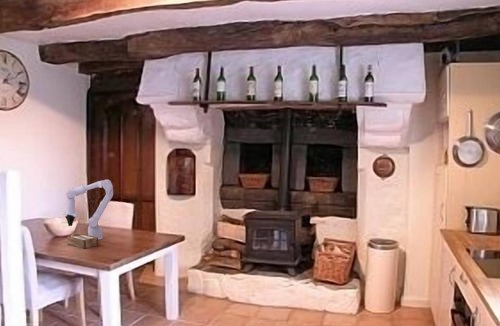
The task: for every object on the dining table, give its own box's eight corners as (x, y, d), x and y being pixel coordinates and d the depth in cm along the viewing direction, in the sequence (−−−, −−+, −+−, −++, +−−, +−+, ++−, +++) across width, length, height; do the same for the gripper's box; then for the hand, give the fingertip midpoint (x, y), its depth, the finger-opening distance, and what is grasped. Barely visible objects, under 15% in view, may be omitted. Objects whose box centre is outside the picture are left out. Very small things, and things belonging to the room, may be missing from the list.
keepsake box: (81, 241, 330) (81, 233, 330) (98, 245, 320) (97, 237, 319) (67, 244, 321) (67, 236, 321) (83, 248, 311) (83, 240, 310)
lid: (81, 235, 329) (81, 232, 328) (95, 238, 319) (95, 235, 319) (69, 238, 321) (69, 234, 321) (83, 241, 312) (83, 237, 312)
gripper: (59, 206, 334) (59, 225, 334) (71, 208, 325) (71, 228, 326) (68, 205, 339) (67, 223, 340) (80, 207, 331) (80, 226, 332)
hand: (70, 225), depth 333 cm, fingers closed
